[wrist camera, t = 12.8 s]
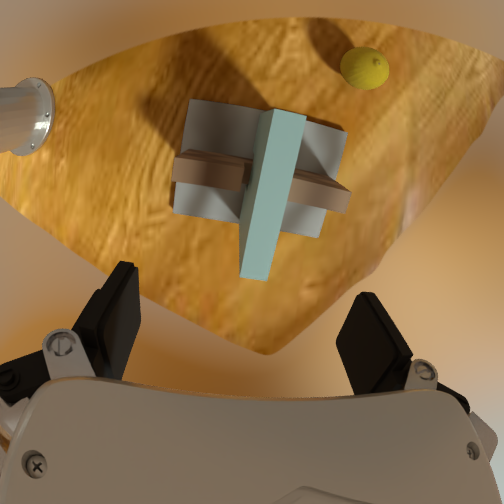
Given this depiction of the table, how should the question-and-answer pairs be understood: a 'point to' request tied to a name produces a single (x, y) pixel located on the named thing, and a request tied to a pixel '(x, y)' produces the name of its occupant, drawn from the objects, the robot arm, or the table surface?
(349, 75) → the lemon
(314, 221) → the base
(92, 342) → the robot arm
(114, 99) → the table surface
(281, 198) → the notched plate
